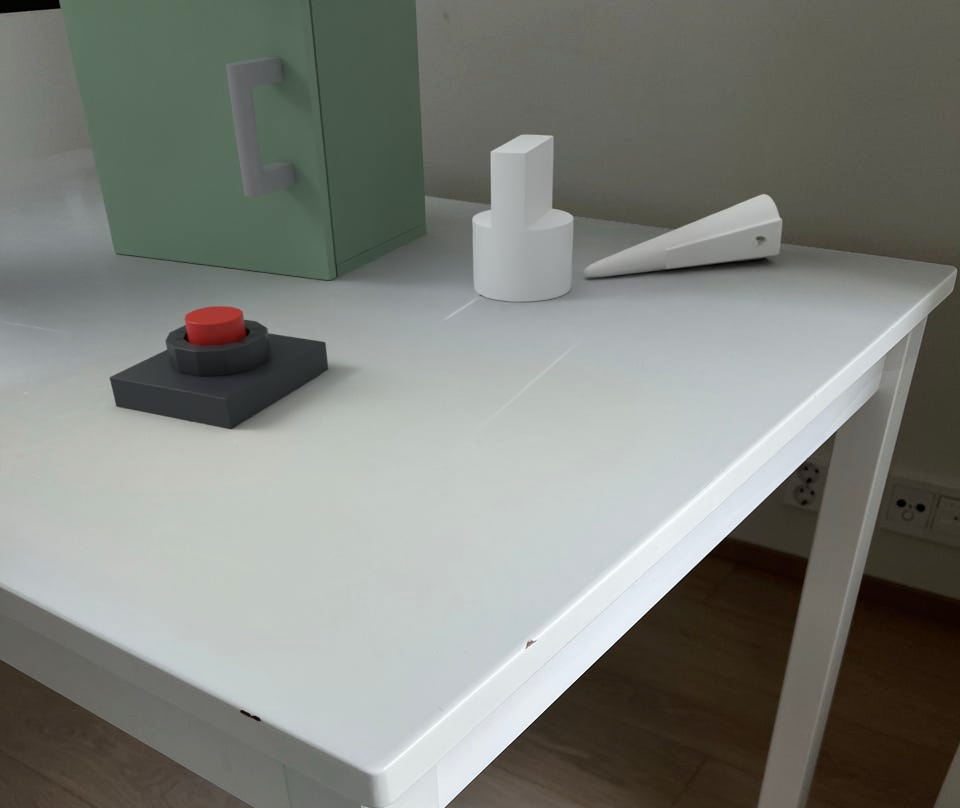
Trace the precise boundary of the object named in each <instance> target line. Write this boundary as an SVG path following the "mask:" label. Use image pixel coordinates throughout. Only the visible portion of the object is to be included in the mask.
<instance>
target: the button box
mask: <svg viewBox="0 0 960 808" xmlns="http://www.w3.org/2000/svg"><path fill="white" fill-rule="evenodd" d="M244 324H245V330H246V337H245V338H243V339H241V340H239V341H236V342H231V343H226V344H222V345H197V344H191V343H189V339H188V334H187V329H186V324H185V325H182V326H181V327H177V328H176V329H174V330H172V331H170V332H169V333H168V335H167V337H166V338H165V345H166V346H165V347H166V349H165V350H163V351H160V352H159V353H157V354H154V355H153V356H150V357H149V358H147V359H144V360H142V361H140V362H138V363H136V364H134V365H132V366H130V367H128V368H125V369H123V370H122V371H120V372H118V373H115V374H113V375H111V376H109V381H110V386H111V390H112V394H113V398H114V402H115V403H114V404H115V406H116V407H117V408H121V409H126V410H131V411H136V412H142V413H147V414H152V415H157V416H162V417H167V418H172V419H176V420H182V421H186V422H192V423H197V424H202V425H207V426H212V427H217V428H223V429H227V430H233V429H235V428H236V427H238V426H240V425H241V424H243V423H245V422H246V421H248V420H250V419H251V418H252V417H254V416H256V415H257V414H259V413H261V412H262V411H264V410H266V409H267V408H269V407H271V406H272V405H274V404H275V403H277V402H279V401H280V400H282V399H284V398H285V397H287V396H289V395H291V394H292V393H293V392H295V391H296V390H298V389H300V388H302V387H303V386H305V385H306V384H308V383H310V382H312V381H313V380H314V379H317V378H318V377H319V376H321V374H324V373H325V372H327V371H328V370H329V360H328V353H327V344H326V342H325V341H323V340H316V339H315V340H314V339H307V338H301V337H295V336H289V335H283V334H276V333H270V332H269V329H268V327H266V326H265V325H263V324H262V323H260V322H258V321H256V320H250V319H244Z"/></svg>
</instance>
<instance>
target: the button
mask: <svg viewBox="0 0 960 808" xmlns="http://www.w3.org/2000/svg"><path fill="white" fill-rule="evenodd" d="M244 320H245V317H244V313H243V311H242V310H241V309H239V308H237V307H233V306H224V305H218V306H217V305H215V306H207V307H201V308H198V309H195V310H191V311H190V312H188V313H186V315H184V324H185V325H186V329H187V334H188V339H189V343H191V344H197V345H222V344H226V343H231V342H236V341H239V340H241V339H243V338H245V337H246V330H245V324H244Z"/></svg>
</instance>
